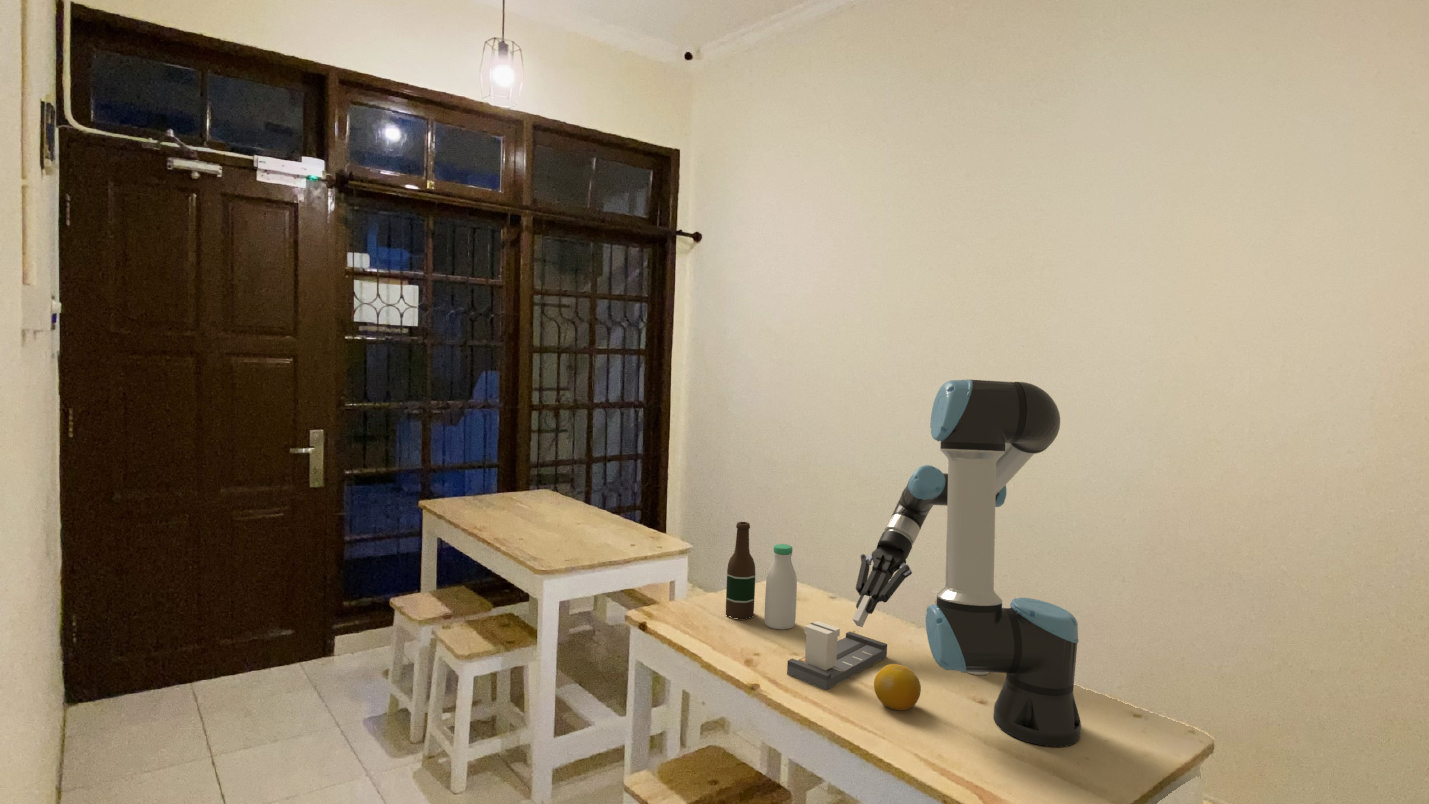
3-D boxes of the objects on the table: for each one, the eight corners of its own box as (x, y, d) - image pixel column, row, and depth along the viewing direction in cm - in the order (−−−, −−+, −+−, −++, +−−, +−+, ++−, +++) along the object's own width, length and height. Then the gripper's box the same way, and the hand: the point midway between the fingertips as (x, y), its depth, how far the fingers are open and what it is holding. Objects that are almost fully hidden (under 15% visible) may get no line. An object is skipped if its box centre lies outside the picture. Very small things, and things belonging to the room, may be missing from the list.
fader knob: (815, 656, 165) (817, 620, 165) (838, 665, 161) (840, 628, 161) (802, 662, 162) (804, 625, 161) (825, 671, 158) (827, 633, 157)
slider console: (848, 643, 179) (849, 631, 179) (886, 656, 172) (887, 644, 172) (787, 674, 162) (787, 660, 161) (826, 690, 155) (826, 675, 155)
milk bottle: (799, 629, 187) (803, 549, 185) (769, 631, 185) (773, 550, 183) (789, 618, 194) (792, 541, 193) (760, 619, 192) (763, 542, 191)
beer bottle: (759, 612, 197) (763, 521, 195) (747, 622, 190) (751, 528, 188) (731, 607, 201) (735, 517, 199) (719, 616, 193) (723, 523, 191)
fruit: (921, 702, 151) (924, 663, 150) (916, 720, 144) (919, 679, 143) (876, 693, 154) (879, 655, 154) (869, 710, 147) (871, 670, 146)
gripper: (927, 553, 180) (888, 640, 169) (879, 542, 189) (838, 624, 178) (918, 534, 176) (877, 622, 165) (869, 524, 185) (827, 607, 174)
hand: (857, 623), depth 171 cm, fingers closed
